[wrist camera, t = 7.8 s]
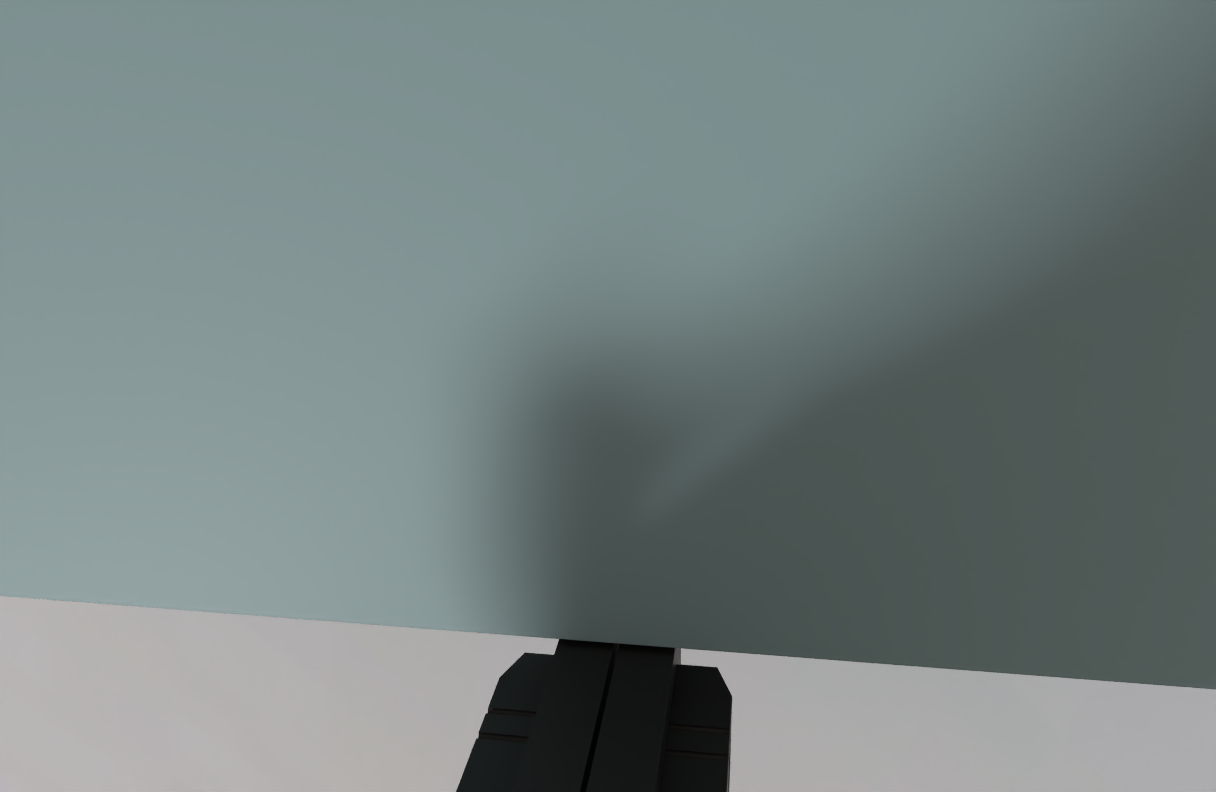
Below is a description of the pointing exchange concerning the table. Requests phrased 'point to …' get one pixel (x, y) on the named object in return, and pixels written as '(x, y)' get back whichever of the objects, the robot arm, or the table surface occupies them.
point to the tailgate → (622, 321)
